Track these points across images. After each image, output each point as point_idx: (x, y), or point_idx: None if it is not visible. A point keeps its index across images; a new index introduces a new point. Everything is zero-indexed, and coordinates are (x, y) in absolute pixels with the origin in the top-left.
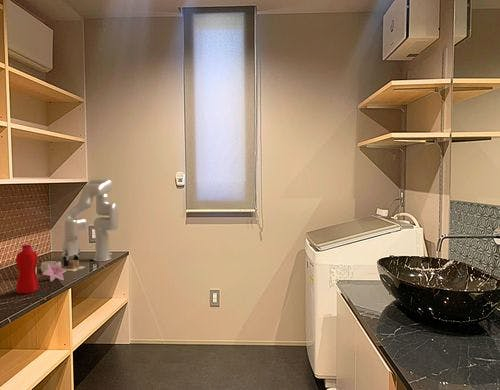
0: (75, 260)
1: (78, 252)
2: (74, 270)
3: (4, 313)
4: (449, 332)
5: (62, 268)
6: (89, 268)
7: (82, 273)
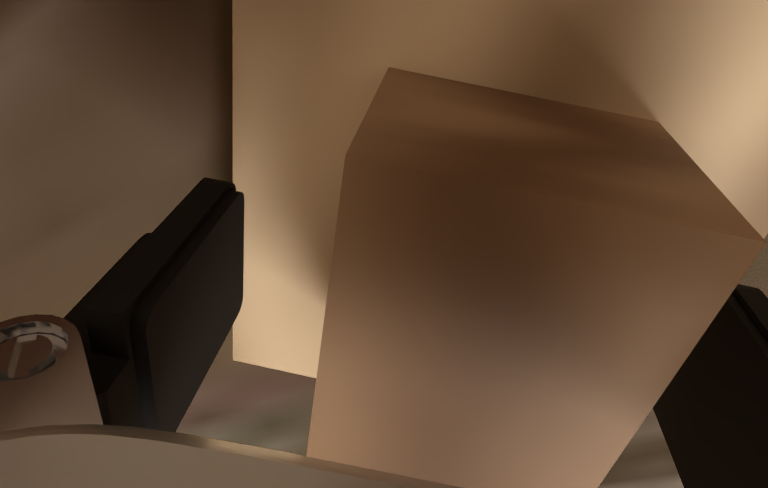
0: (559, 461)
1: None
2: (261, 357)
3: None
4: None
5: (369, 18)
6: (650, 439)
7: (259, 434)
